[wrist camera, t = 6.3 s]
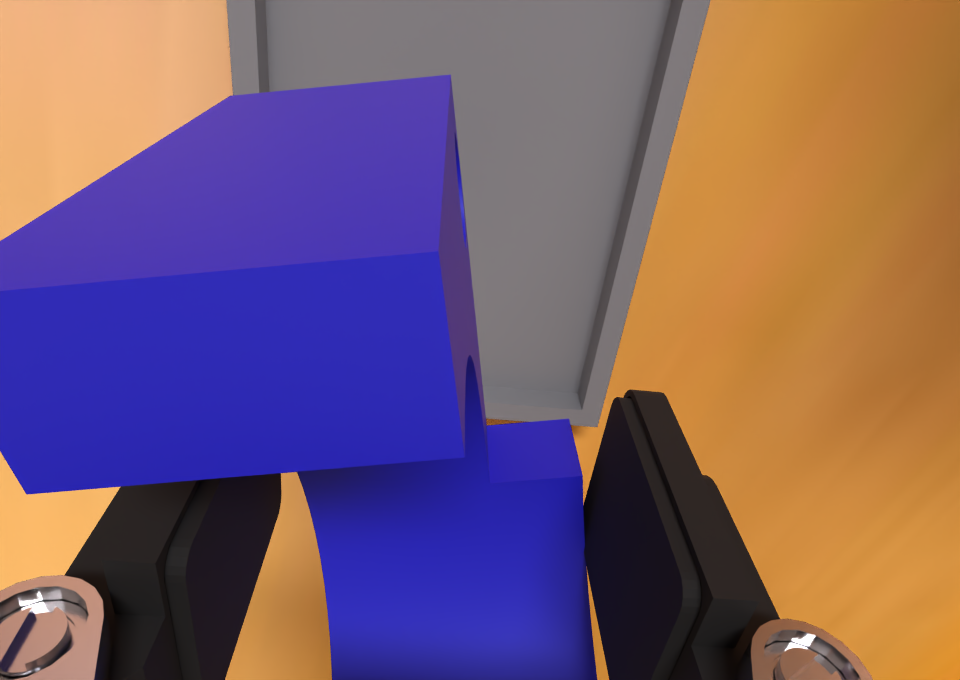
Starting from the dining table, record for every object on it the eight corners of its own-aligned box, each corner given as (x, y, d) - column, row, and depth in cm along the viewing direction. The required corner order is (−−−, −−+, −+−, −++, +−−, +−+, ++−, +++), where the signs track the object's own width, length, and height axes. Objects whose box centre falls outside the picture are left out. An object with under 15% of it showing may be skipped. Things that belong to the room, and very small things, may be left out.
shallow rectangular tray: (708, -81, 20) (732, -84, 18) (589, 398, 29) (597, 427, 27) (237, -151, 19) (215, -162, 17) (266, 372, 28) (254, 400, 26)
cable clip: (573, 626, 15) (633, 984, 10) (377, 641, 15) (335, 1003, 10) (562, 63, 9) (710, 224, 4) (230, 95, 9) (-93, 299, 4)
